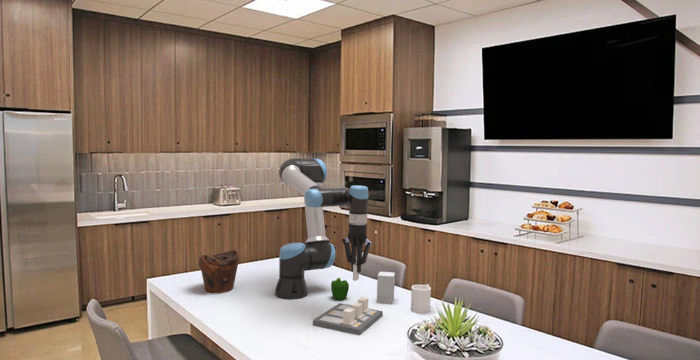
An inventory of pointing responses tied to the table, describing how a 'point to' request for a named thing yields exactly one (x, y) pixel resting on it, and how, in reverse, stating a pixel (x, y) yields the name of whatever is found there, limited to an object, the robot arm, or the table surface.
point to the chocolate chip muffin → (219, 271)
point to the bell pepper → (339, 289)
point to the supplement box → (385, 287)
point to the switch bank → (335, 316)
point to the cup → (420, 298)
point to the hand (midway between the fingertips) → (355, 279)
